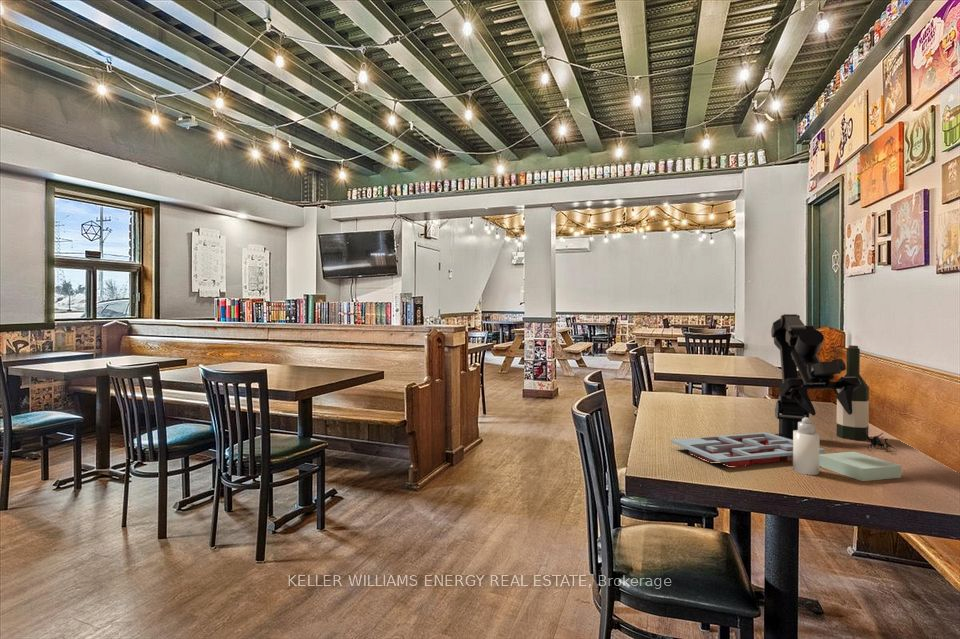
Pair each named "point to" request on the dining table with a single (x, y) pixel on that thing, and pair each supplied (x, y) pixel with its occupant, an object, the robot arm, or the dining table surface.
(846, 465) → the plinth
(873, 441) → the creature
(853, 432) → the wine bottle
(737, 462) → the maze game
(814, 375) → the robot arm
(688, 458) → the dining table surface
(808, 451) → the pepper mill
